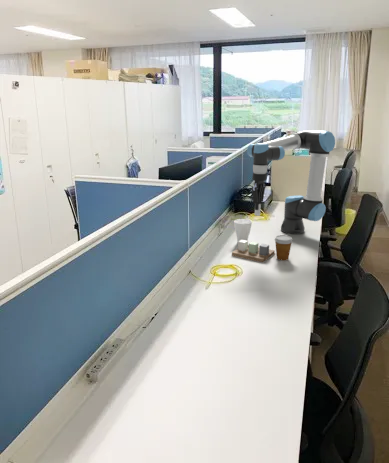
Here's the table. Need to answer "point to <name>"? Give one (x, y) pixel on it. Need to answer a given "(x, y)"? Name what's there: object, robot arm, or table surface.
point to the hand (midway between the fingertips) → (257, 215)
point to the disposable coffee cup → (283, 246)
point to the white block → (242, 245)
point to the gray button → (264, 249)
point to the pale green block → (253, 247)
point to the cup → (242, 229)
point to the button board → (252, 255)
